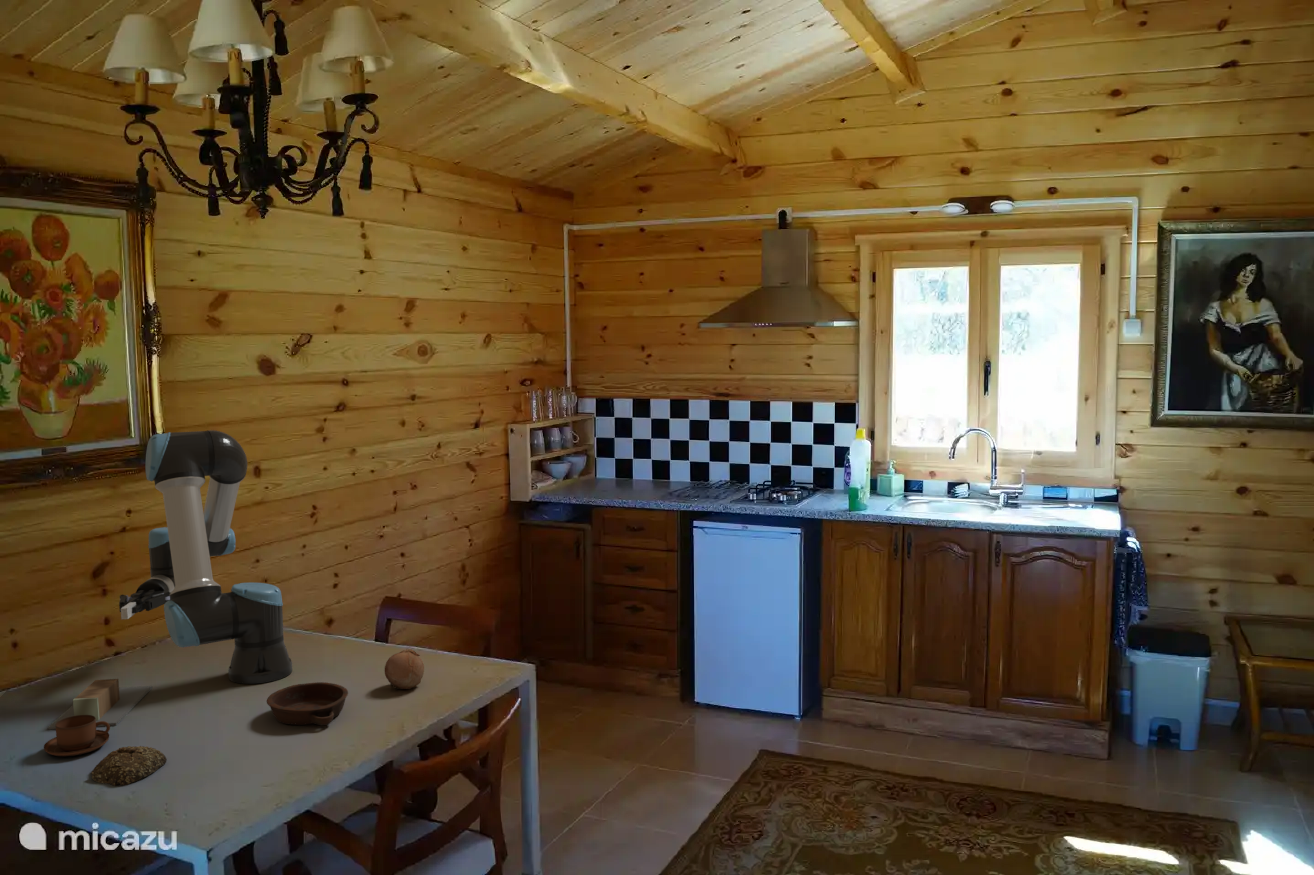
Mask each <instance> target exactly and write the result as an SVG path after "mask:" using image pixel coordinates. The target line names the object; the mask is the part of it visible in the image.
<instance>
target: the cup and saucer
mask: <svg viewBox="0 0 1314 875" xmlns="http://www.w3.org/2000/svg"><path fill="white" fill-rule="evenodd" d="M101 724H103V725H105V726H104V727H106V728H105V730H103V729H97V726H98V725H101ZM55 727H56V729H55V736H56V737H53V738H51V739H49V740H48V741H46V742H45V743H44V744H43V750H44V751H45V753H47V754H49V755H52V756H56V757H74V756H78V755H79V756H81V755H83V754H87V753H90V752H93V751H96V750H98V749H99V748H101V747H102V746H104V745H105V744H106V743H107V742H108V741H109V738H110V734H109V732H110V730H111V726H110V725H109V724H108V723H107V722H105V721H100V722H96V718H95V717H94V716H92V715H76V716H71V717H67V718H64V719H62V720H60V721H58V722H57V723H56V724H55Z"/></svg>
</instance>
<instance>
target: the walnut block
mask: <svg viewBox="0 0 1314 875" xmlns="http://www.w3.org/2000/svg"><path fill="white" fill-rule="evenodd" d="M119 687H120V683H119V678H110V679H109V678H108V679H95V680H94V681H93V682H91V683H90V684H89V685H88V686H87V687H86V688H85V689H83V690H82V691H81V692H80V693H79V694H78V695H77V696H76V697H75V698H73V699H72V705H73V706H74V716H76V715H92V716H94V717H95V718H96V720H99V719H100V718H101V717H102V716H103V715H104V714H105V713H106V712H107V711H108V710H109V709H110V708H111V707H112V706H113V705H114V704H115V703H116V702H117V701H118V700H119V699H120V696H119Z"/></svg>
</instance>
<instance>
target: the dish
mask: <svg viewBox="0 0 1314 875" xmlns="http://www.w3.org/2000/svg"><path fill="white" fill-rule="evenodd" d="M348 696H349V691H348V689H347V688H346V687H345V686H343V685H340V684H337V683H332V682H324V681H322V682H321V681H320V682H318V681H317V682H306V683H298V684H293V685H289V686H287V687H283V688H281V689H277V691H274V692H273V693H271V694H270V695H269V696H268V697H267V698H266V704H267V705H268V706H269V707H270V709H271V712H272V714H273V717H274V718H275V719H276V720H277V721H278V722H280V723H283V724H287V725H294V726H295V725H297V726H298V725H300V726H301V725H313V724H314V725H316V726H317V725H318V726H326V725H328V724H331V723H332V722H333V721H334V718H335V717H337V716H338V715H339V714H341V712H342V711H343V708H344V705H345V701H346V698H347V697H348Z"/></svg>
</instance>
